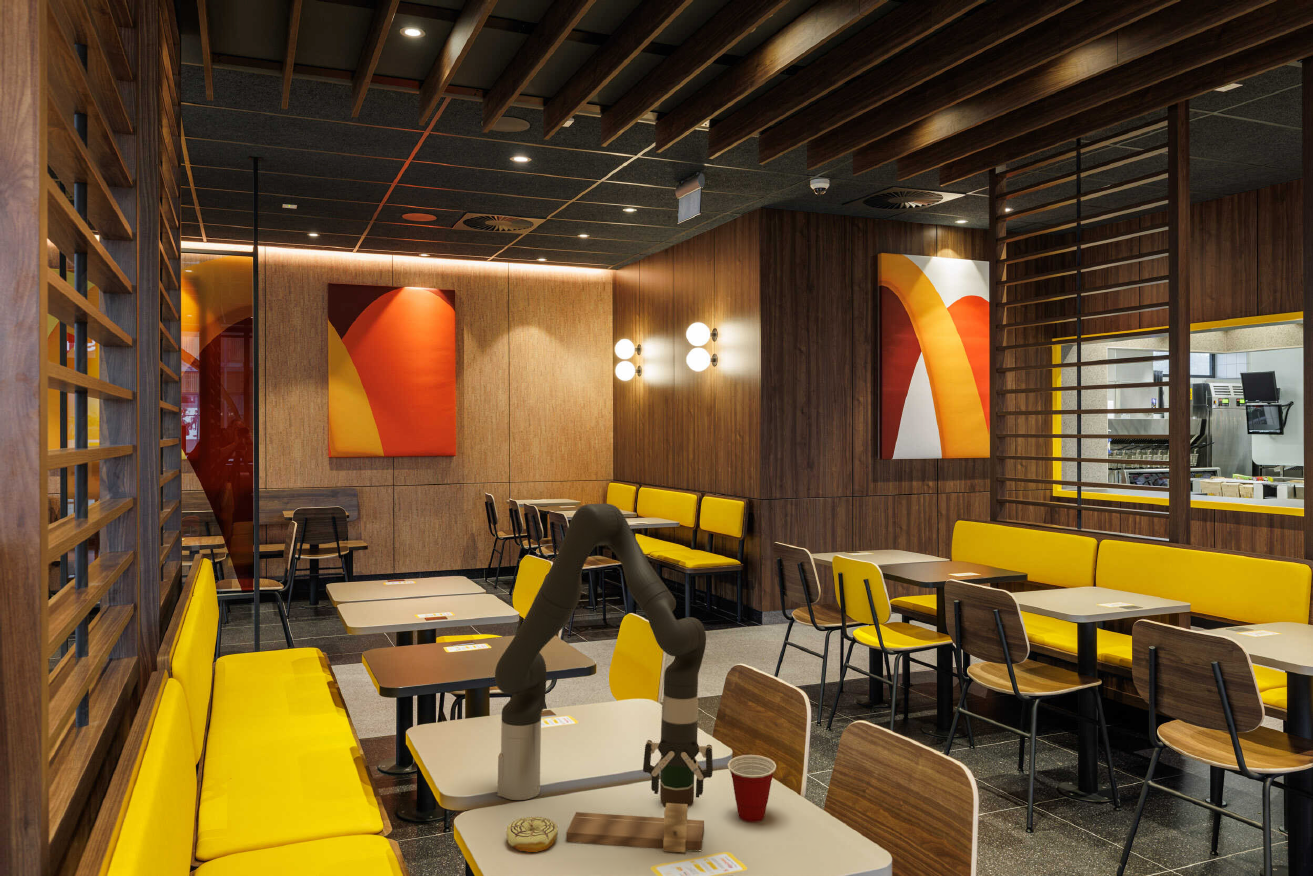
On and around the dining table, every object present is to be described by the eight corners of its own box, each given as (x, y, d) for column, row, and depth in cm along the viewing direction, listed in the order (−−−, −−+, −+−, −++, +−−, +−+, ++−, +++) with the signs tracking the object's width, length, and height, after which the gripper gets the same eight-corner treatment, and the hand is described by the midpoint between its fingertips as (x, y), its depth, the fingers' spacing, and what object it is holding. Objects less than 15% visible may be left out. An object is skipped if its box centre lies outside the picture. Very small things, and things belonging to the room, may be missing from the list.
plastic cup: (718, 821, 195) (719, 766, 195) (737, 803, 205) (738, 751, 205) (765, 832, 190) (766, 776, 190) (782, 813, 200) (783, 760, 200)
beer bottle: (694, 797, 208) (696, 695, 208) (692, 811, 200) (694, 705, 200) (661, 795, 209) (663, 693, 209) (658, 809, 201) (660, 703, 201)
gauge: (663, 851, 180) (663, 813, 180) (667, 830, 190) (668, 794, 190) (684, 852, 180) (685, 815, 180) (688, 831, 189) (689, 795, 189)
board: (566, 842, 184) (566, 832, 184) (575, 821, 194) (576, 812, 194) (701, 851, 181) (701, 841, 181) (703, 829, 191) (704, 820, 191)
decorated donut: (503, 855, 178) (504, 837, 178) (508, 831, 189) (509, 814, 189) (555, 854, 179) (556, 836, 179) (558, 831, 190) (558, 813, 190)
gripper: (643, 719, 180) (640, 799, 180) (713, 724, 178) (710, 805, 179) (647, 708, 187) (645, 784, 188) (715, 712, 186) (712, 790, 186)
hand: (677, 794), depth 183 cm, fingers open, 8 cm apart
